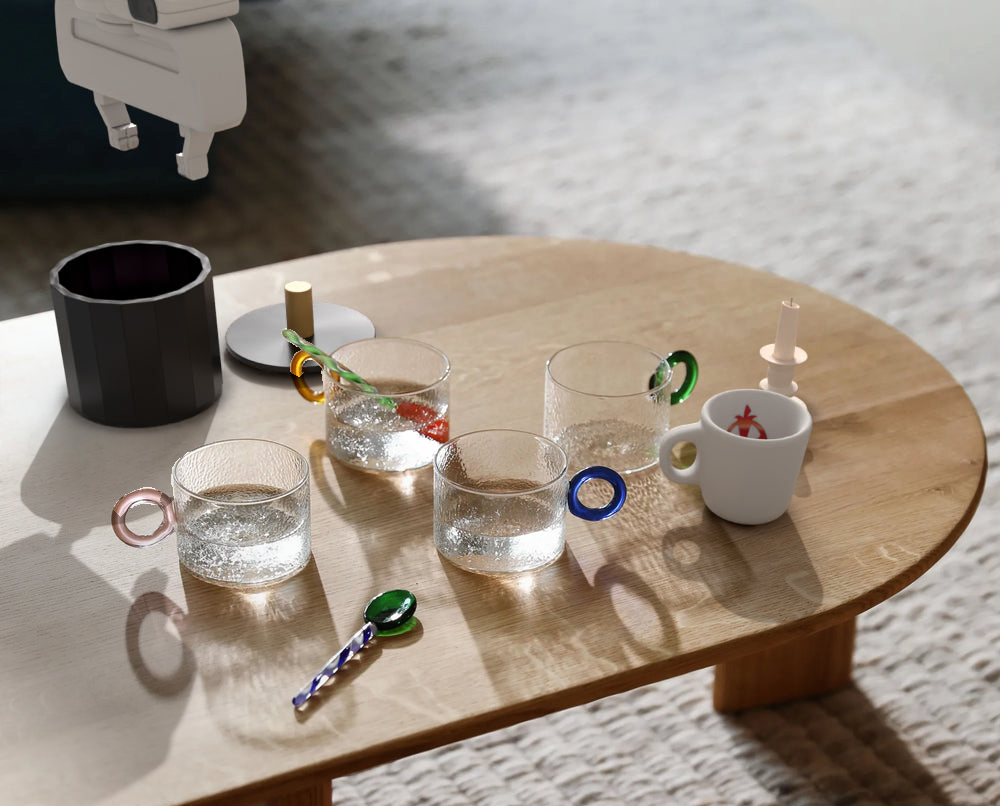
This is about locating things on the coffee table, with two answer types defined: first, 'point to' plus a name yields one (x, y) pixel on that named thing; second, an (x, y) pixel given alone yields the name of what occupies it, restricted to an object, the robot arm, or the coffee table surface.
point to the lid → (313, 321)
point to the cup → (743, 453)
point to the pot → (137, 332)
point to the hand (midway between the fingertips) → (158, 161)
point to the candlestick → (784, 354)
